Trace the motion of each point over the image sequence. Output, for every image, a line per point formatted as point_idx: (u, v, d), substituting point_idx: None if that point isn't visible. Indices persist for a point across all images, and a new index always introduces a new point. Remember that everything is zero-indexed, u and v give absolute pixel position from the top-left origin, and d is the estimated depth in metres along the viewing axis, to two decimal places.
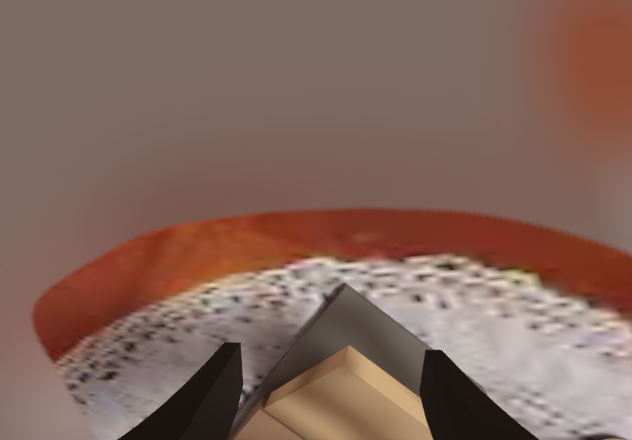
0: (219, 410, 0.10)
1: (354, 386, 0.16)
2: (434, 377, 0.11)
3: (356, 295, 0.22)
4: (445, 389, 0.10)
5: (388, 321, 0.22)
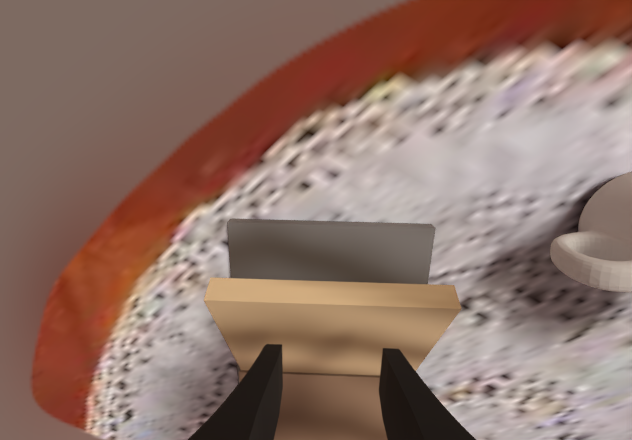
0: (269, 412, 0.10)
1: (238, 311, 0.15)
2: (388, 375, 0.11)
3: (242, 223, 0.20)
4: (395, 387, 0.10)
5: (288, 226, 0.20)
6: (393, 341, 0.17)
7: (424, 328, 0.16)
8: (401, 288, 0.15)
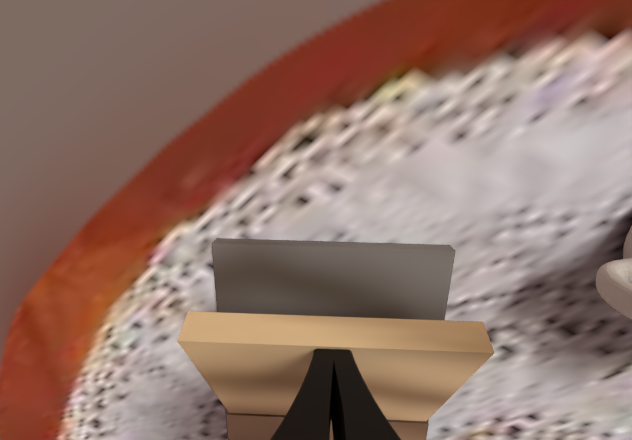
0: (329, 415, 0.10)
1: (221, 353, 0.12)
2: (333, 373, 0.11)
3: (229, 244, 0.17)
4: (336, 385, 0.10)
5: (283, 248, 0.17)
6: (407, 386, 0.14)
7: (446, 373, 0.13)
8: (419, 325, 0.12)
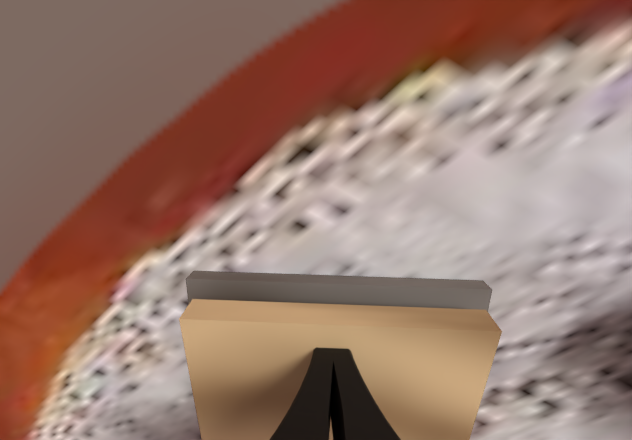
0: (329, 415, 0.10)
1: (220, 341, 0.12)
2: (332, 373, 0.11)
3: (208, 280, 0.13)
4: (335, 385, 0.10)
5: (275, 285, 0.13)
6: (420, 407, 0.13)
7: (459, 376, 0.12)
8: (422, 311, 0.12)
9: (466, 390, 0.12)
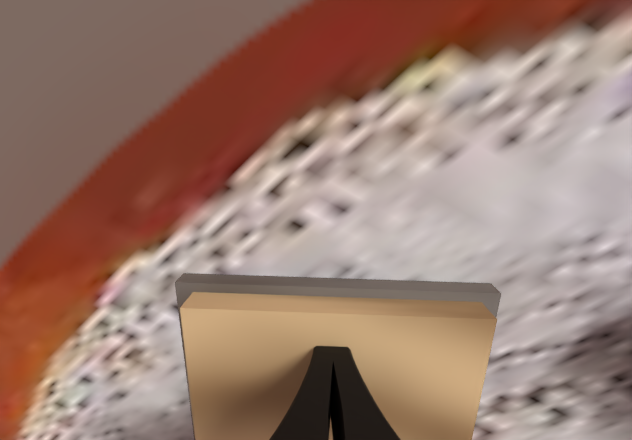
0: None
1: (220, 331, 0.12)
2: (332, 373, 0.11)
3: (198, 284, 0.13)
4: (335, 385, 0.10)
5: (271, 288, 0.12)
6: (420, 403, 0.12)
7: (458, 368, 0.12)
8: (419, 303, 0.12)
9: (465, 384, 0.12)
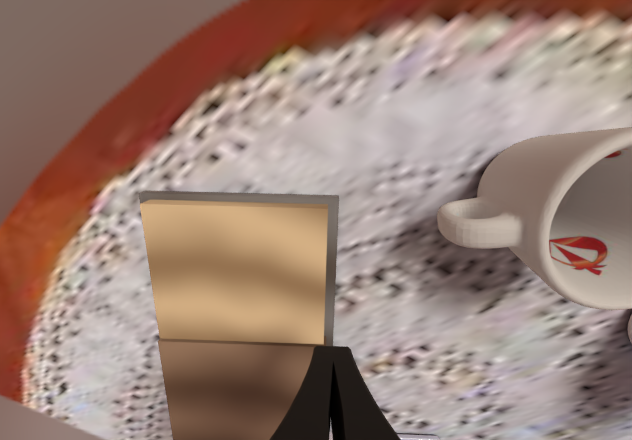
0: (329, 415, 0.10)
1: (164, 219, 0.19)
2: (333, 373, 0.11)
3: (153, 194, 0.20)
4: (335, 385, 0.10)
5: (198, 196, 0.20)
6: (290, 267, 0.20)
7: (309, 242, 0.20)
8: (288, 204, 0.20)
9: (316, 253, 0.20)
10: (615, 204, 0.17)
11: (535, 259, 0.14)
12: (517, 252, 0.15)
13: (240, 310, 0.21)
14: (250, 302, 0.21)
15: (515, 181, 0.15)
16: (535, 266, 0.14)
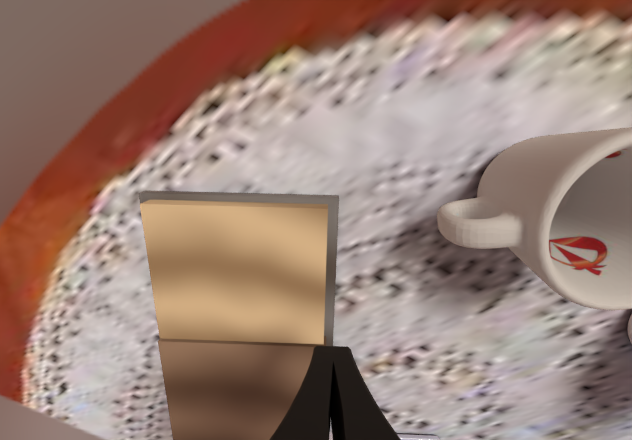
0: (329, 415, 0.10)
1: (164, 219, 0.19)
2: (333, 373, 0.11)
3: (153, 194, 0.20)
4: (335, 385, 0.10)
5: (198, 196, 0.20)
6: (290, 267, 0.20)
7: (309, 242, 0.20)
8: (288, 204, 0.20)
9: (316, 253, 0.20)
10: (615, 204, 0.17)
11: (535, 259, 0.14)
12: (517, 252, 0.16)
13: (240, 310, 0.21)
14: (250, 302, 0.21)
15: (515, 181, 0.15)
16: (535, 266, 0.14)
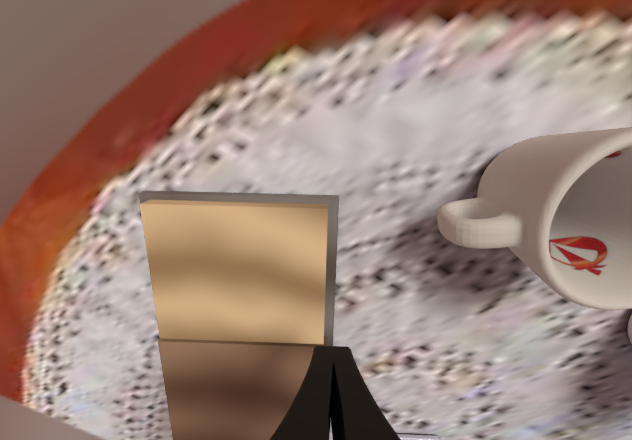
0: (329, 415, 0.10)
1: (164, 219, 0.19)
2: (333, 373, 0.11)
3: (153, 194, 0.20)
4: (335, 385, 0.10)
5: (198, 196, 0.20)
6: (290, 267, 0.20)
7: (309, 242, 0.20)
8: (288, 204, 0.20)
9: (316, 253, 0.20)
10: (615, 204, 0.17)
11: (535, 259, 0.14)
12: (517, 252, 0.16)
13: (240, 310, 0.21)
14: (250, 302, 0.21)
15: (515, 181, 0.15)
16: (535, 266, 0.14)
